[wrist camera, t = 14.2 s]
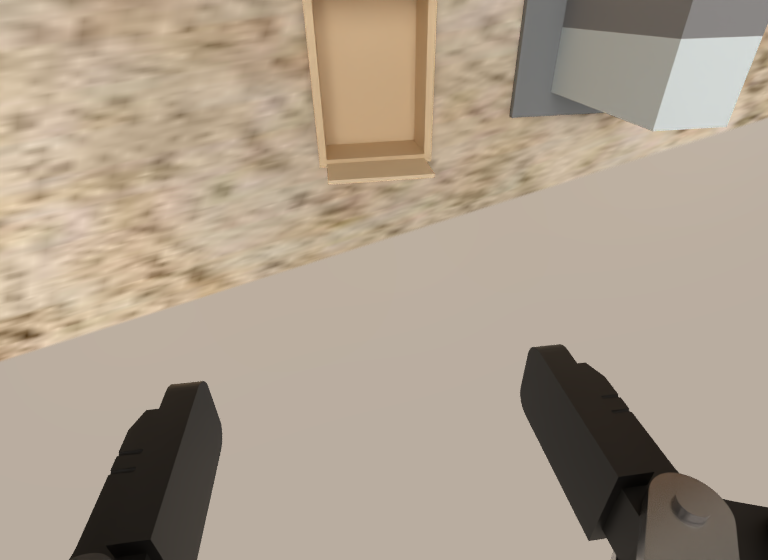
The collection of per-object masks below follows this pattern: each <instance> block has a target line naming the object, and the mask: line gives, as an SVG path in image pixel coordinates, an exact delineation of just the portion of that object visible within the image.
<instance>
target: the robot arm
mask: <svg viewBox="0 0 768 560" xmlns="http://www.w3.org/2000/svg"><path fill="white" fill-rule="evenodd" d="M520 396H521V403H522V407H523V410H524V412H525V415H526V417H527V419H528V421H529V423H530V425H531V427H532V429H533V431H534V433H535V435H536V437H537V439H538V441H539V443H540V445H541V446H542V449H543V451H544V453H545V455H546V457H547V459H548V461H549V463H550V465H551V467H552V469H553V471H554V473H555V475H556V476H557V479H558V481H559V482H560V485H561V486H562V488H563V491H564V493H565V495H566V497H567V499H568V500H569V502H570V505H571V506H572V509H573V510H574V513H575V515H576V516H577V518H578V520H579V522H580V524H581V526H582V528H583V530H584V532H585V534H586V536H587V538H588V540H589V541H591V540H598V539H604V538H607V539H608V541H609V543H610V545H611V547H612V549H613V550H614V552H613V553H612V557H611V560H768V507H762V506H756V505H750V504H745V503H739V502H734V501H729V500H725V499H722V498H721V497H720V496H719V495H718V494H717V493H716V492H715V491H714V490H713V489H711V488H710V487H708V486H707V485H706V484H704V483H702V482H701V481H699V480H697V479H695V478H692V477H690V476H687V475H683V474H680V473H678V471H677V470H676V469H675V468H674V467H673V465H672V464H671V463H670V461H669V460H668V459H667V458H666V456H665V455H664V454H663V452H662V451H661V450H660V448H659V447H658V446H657V444H656V443H655V442H654V441H653V439H652V438H651V437H650V435H649V434H648V433H647V431H646V430H645V429H644V427H643V426H642V425H641V424H640V422H639V421H638V420H637V419H636V417H635V416H634V414H633V413H632V412H629V408H628V407H627V405H626V404H625V403H624V401H623V400H622V399H621V398H619V397H618V394H617V392H616V391H615V390H614V389H613V387H612V386H611V384H610V383H609V382H608V381H607V379H606V378H605V377H604V376H603V375H602V374H600V373H599V372H598V371H596V370H595V369H593V368H592V367H591V366H589V365H588V364H587V363H578V364H577V363H576V361H575V360H574V358H573V357H572V356H571V354H570V353H569V351H568V350H567V349H566V347H564V346H563V345H560V344H559V345H550V346H540V347H532V348H531V349H530V350H529V353H528V356H527V361H526V366H525V370H524V375H523V380H522V384H521V390H520ZM221 446H222V428H221V422H220V419H219V417H218V414H217V411H216V408H215V405H214V402H213V399H212V396H211V393H210V391H209V388H208V385H207V383H206V382H204V381H200V382H192V383H181V384H172V385H170V386H169V387H168V388H167V391H166V393H165V395H164V398H163V400H162V403H161V406H160V408H159V409H153V410H146V411H145V412H144V413H143V415H142V416H141V417H140V418H139V419H138V420H137V421H136V422H135V424H134V425H133V426H132V427H131V428H130V429H129V430H128V432H127V435H126V437H125V439H124V441H123V444H122V446H121V448H120V450H119V456H117V457H116V459H115V462H114V464H113V466H112V468H111V474H110V475H108V477H107V480H106V482H105V484H104V486H103V489H102V491H101V493H100V495H99V498H98V500H97V502H96V504H95V507H94V509H93V511H92V513H91V515H90V518H89V520H88V522H87V524H86V527H85V529H84V531H83V533H82V536H81V538H80V540H79V542H78V545H77V547H76V549H75V551H74V553H73V554H72V556H71V558H70V559H69V560H197V556H198V552H199V547H200V543H201V538H202V534H203V529H204V525H205V520H206V516H207V511H208V506H209V502H210V498H211V493H212V488H213V484H214V479H215V475H216V470H217V466H218V461H219V456H220V452H221Z"/></svg>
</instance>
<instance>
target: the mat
mask: <svg viewBox="0 0 768 560" xmlns="http://www.w3.org/2000/svg"><path fill="white" fill-rule="evenodd" d="M566 4H567V0H525V1H524V9H523V17H522V24H521V32H520V40H519V47H518V55H517V63H516V70H515V78H514V86H513V93H512V101H511V109H510V117H512V118H515V117H534V116H552V115H571V114H590V113H604V112H602V111H599V110H596V109H594V108H591V107H589V106H586V105H583V104H581V103H578V102H576V101H573V100H570V99H568V98H565V97H563V96H560V95H557V94H555V93H552V92H551V90H552V84H553V79H554V73H555V67H556V61H557V56H558V50H559V44H560V39H561V33H562V27H563V21H564V16H565V10H566Z"/></svg>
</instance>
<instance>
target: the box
mask: <svg viewBox="0 0 768 560" xmlns="http://www.w3.org/2000/svg"><path fill="white" fill-rule="evenodd" d="M767 24H768V0H567V4H566V10H565V16H564V21H563V27H562V33H561V39H560V44H559V50H558V56H557V61H556V67H555V73H554V79H553V84H552V90H551V92H552V93H555V94H557V95H560V96H563V97H565V98H568V99H570V100H573V101H576V102H578V103H581V104H583V105H586V106H589V107H591V108H594V109H596V110H599V111H602V112H604V113H607V114H609V115H612V116H615V117H617V118H620V119H622V120H625V121H628V122H630V123H633V124H635V125H638V126H641V127H643V128H646V129H648V130H651V131H664V130H680V129H697V128H714V127H727V125H728V122H729V119H730V117H731V114H732V112H733V109H734V107H735V104H736V102H737V99H738V97H739V94H740V92H741V89H742V87H743V84H744V82H745V79H746V77H747V74H748V72H749V69H750V67H751V64H752V62H753V59H754V57H755V54H756V52H757V49H758V46H759V44H760V41H761V39H762V36H763V34H764V31H765V29H766V26H767Z"/></svg>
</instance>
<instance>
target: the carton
mask: <svg viewBox="0 0 768 560" xmlns="http://www.w3.org/2000/svg"><path fill="white" fill-rule="evenodd" d="M302 2H303V11H304V21H305V30H306V40H307V49H308V59H309V68H310V78H311V87H312V97H313V106H314V116H315V125H316V135H317V144H318V154H319V163H320V168H326V167H327V173H328V185H332V184H347V183H362V182H377V181H392V180H408V179H423V178H435V173H434V172H433V170H432V169H431V167H430V166H429V164H428V163H427V161H431V148H432V122H433V95H434V69H435V42H436V15H437V0H302Z"/></svg>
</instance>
